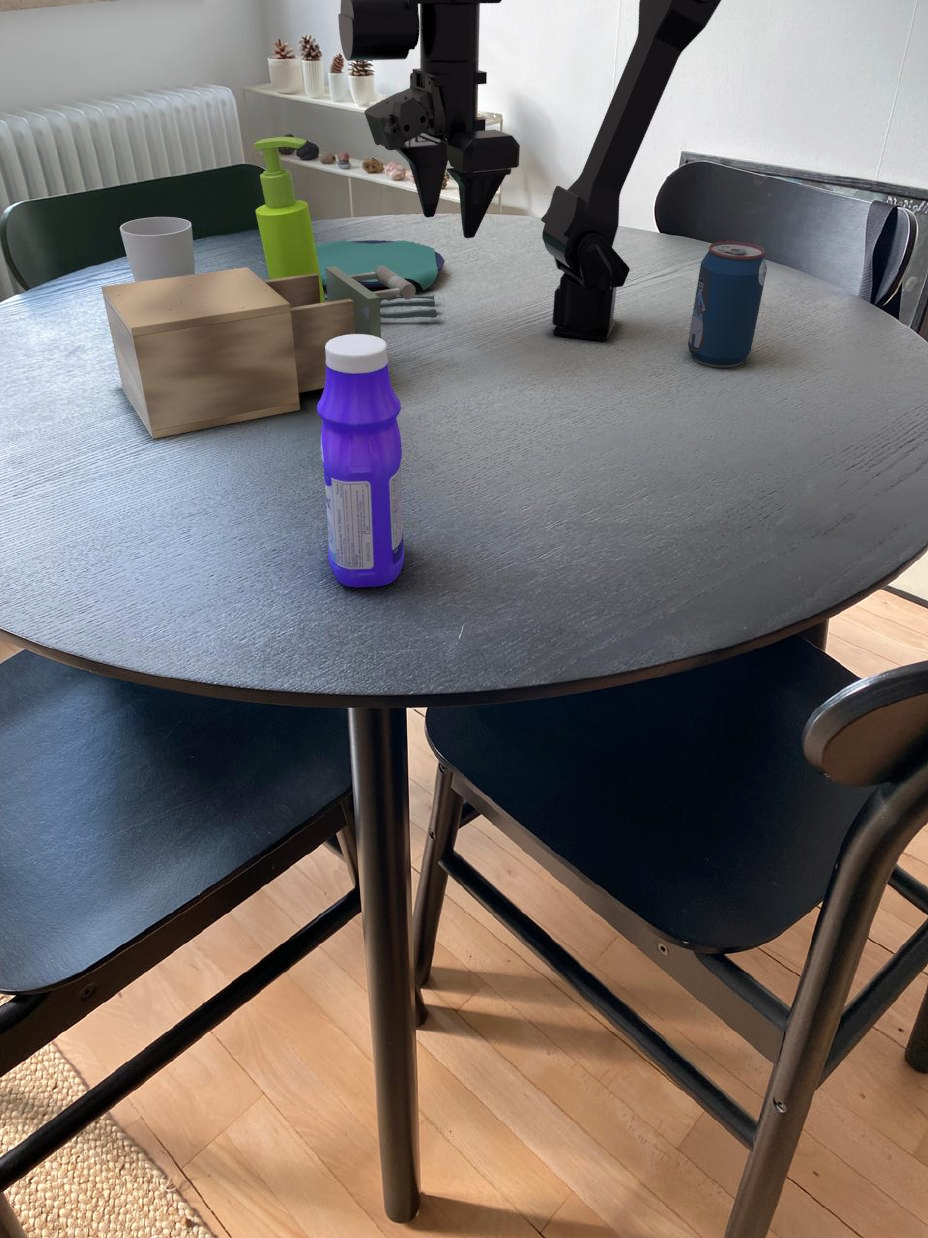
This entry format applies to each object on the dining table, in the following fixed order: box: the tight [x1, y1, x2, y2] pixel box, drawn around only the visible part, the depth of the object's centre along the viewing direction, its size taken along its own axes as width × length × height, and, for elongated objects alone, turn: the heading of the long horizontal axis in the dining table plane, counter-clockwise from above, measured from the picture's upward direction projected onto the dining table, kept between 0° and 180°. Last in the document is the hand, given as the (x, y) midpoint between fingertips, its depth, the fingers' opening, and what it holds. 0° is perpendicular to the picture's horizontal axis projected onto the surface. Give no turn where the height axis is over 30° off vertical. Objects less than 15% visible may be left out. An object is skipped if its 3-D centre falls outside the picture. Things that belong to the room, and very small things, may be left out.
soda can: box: [687, 240, 768, 369], centre depth 104 cm, size 7×7×12 cm
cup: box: [119, 216, 196, 282], centre depth 114 cm, size 8×8×10 cm
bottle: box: [316, 334, 405, 588], centre depth 67 cm, size 7×6×17 cm
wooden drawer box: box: [101, 266, 301, 440], centre depth 93 cm, size 15×13×11 cm
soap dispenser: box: [253, 136, 326, 303], centre depth 108 cm, size 6×7×20 cm
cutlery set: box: [315, 239, 446, 319], centre depth 125 cm, size 20×30×2 cm, turn 4°
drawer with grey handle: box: [262, 265, 417, 393], centre depth 98 cm, size 18×11×9 cm, turn 118°
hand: (448, 226), depth 101 cm, fingers open, 9 cm apart
